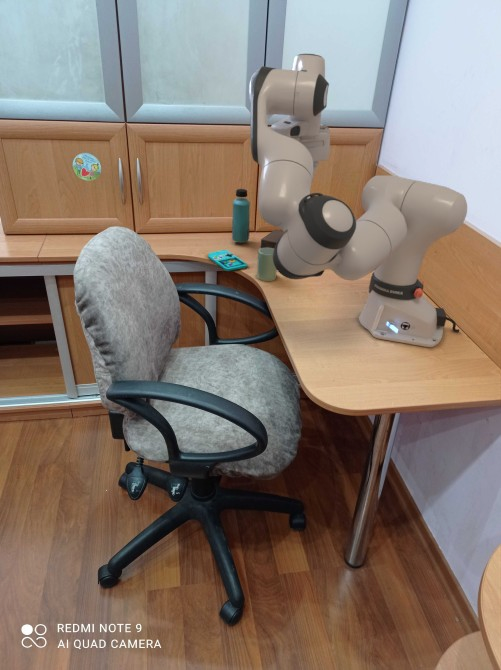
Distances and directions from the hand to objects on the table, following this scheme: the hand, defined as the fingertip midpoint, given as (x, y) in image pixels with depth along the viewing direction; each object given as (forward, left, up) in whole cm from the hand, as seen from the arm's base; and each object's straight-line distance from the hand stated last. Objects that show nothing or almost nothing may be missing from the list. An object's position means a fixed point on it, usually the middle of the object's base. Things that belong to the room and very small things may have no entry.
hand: (297, 180), depth 131 cm
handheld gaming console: (+26, -8, -33) cm, 43 cm away
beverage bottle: (+30, -26, -33) cm, 52 cm away
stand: (+11, -23, -33) cm, 42 cm away
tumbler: (+9, -4, -33) cm, 34 cm away
